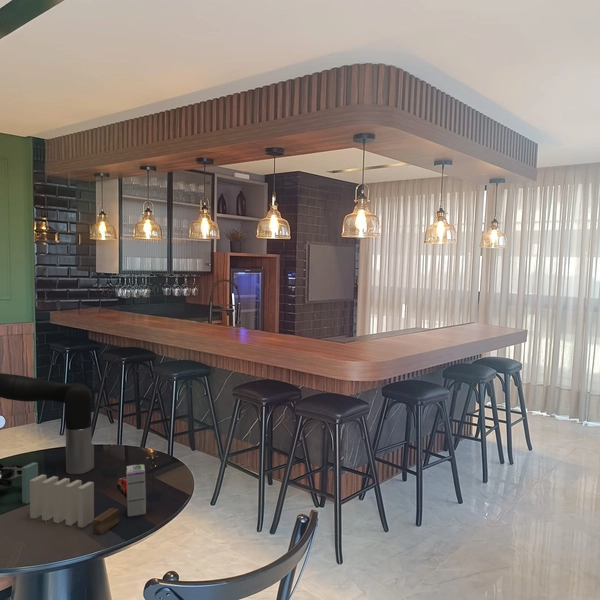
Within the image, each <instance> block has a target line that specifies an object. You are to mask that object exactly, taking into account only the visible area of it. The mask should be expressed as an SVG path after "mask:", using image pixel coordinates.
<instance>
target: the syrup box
mask: <svg viewBox="0 0 600 600" xmlns="http://www.w3.org/2000/svg"><path fill="white" fill-rule="evenodd" d="M125 472H126V476H125V477H126V478H127V497H126V506H127V507H126V510H127V517H135V516H142V515H143V516H144V515H147V498H146V497H147V487H146V469H145V463H144V464H143V463H140V464H131V465H127V466H126V471H125Z"/></svg>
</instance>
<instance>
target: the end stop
mask: <svg viewBox="0 0 600 600" xmlns="http://www.w3.org/2000/svg"><path fill="white" fill-rule="evenodd" d="M118 523H120V509H119V508H115V507H110V508H108V509H106V511H104V512H103V513H100V514H99V515H97V516H96V517H94V519H93V521H92V529H93V530H92V531H93V532H92V533H93V534H98V535H103V534H105V533H106V532H107V531H108V530H110V529H111V528H113V527H114V526H116V525H117V524H118Z"/></svg>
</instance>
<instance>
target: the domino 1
mask: <svg viewBox="0 0 600 600" xmlns="http://www.w3.org/2000/svg"><path fill="white" fill-rule="evenodd" d="M38 476H39V463H38V462H34V461H33V462H31V463H29V464H26V466H24V467H22V476H21V488H22V489H21V501H22V502H21V503H22V504H25V503H26V504H25V505H28V504H30V480H32V479H34V478H36V477H38Z"/></svg>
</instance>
